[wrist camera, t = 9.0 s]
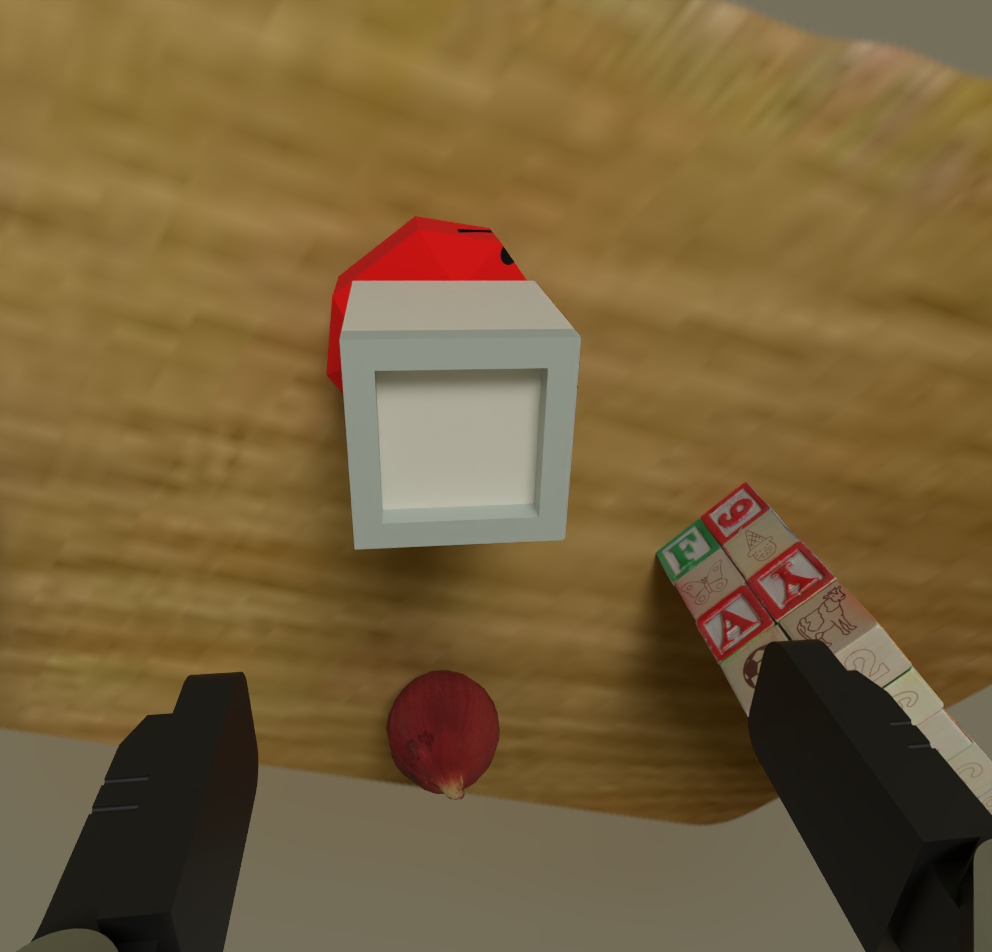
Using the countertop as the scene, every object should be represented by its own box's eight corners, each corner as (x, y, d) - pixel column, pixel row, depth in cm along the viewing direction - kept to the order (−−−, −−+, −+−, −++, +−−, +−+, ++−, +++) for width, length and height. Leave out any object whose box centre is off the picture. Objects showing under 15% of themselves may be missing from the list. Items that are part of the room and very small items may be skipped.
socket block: (534, 280, 24) (580, 337, 18) (526, 444, 27) (564, 539, 21) (352, 280, 24) (339, 340, 18) (362, 448, 26) (354, 549, 20)
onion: (396, 725, 43) (398, 848, 36) (379, 649, 40) (377, 765, 33) (494, 709, 43) (515, 827, 36) (484, 632, 40) (504, 743, 33)
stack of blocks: (917, 686, 47) (1075, 861, 36) (835, 740, 48) (964, 924, 37) (744, 477, 38) (884, 625, 27) (650, 551, 40) (747, 719, 29)
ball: (559, 331, 33) (601, 387, 27) (419, 431, 35) (426, 509, 28) (454, 178, 30) (471, 198, 23) (304, 296, 31) (279, 347, 24)
